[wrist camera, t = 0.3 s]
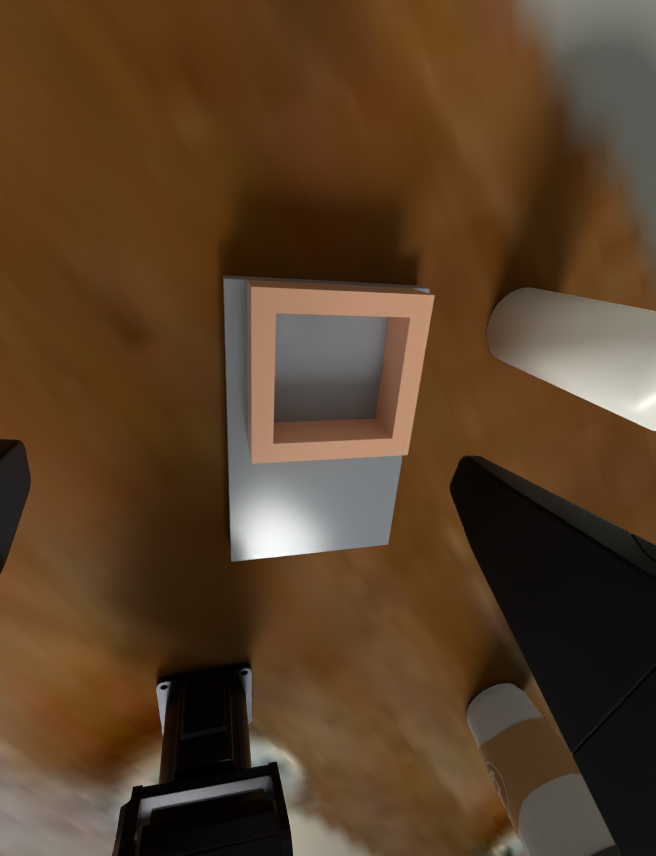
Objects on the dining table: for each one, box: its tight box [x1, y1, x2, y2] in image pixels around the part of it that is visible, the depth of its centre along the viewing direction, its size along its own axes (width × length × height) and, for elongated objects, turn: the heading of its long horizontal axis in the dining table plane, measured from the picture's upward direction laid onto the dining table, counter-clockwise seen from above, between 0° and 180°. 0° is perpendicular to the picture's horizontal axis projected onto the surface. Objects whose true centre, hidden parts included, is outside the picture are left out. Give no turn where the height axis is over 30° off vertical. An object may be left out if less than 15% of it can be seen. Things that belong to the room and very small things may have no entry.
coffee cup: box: [467, 683, 621, 856], centre depth 36 cm, size 8×8×15 cm
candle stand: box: [223, 275, 435, 562], centre depth 23 cm, size 16×10×4 cm, turn 176°
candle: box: [486, 287, 656, 431], centre depth 21 cm, size 4×4×10 cm
